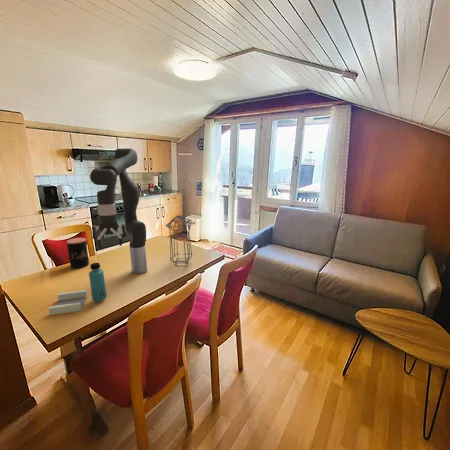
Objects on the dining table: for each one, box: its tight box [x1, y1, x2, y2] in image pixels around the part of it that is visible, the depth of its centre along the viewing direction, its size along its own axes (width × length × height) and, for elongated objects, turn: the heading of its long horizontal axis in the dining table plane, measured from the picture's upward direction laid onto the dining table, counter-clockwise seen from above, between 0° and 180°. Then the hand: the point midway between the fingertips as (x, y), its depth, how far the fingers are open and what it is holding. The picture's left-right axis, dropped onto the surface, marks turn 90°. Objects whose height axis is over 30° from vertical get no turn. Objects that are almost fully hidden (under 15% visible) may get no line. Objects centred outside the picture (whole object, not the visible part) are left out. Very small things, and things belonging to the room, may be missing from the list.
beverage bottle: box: [88, 262, 107, 302], centre depth 112 cm, size 6×7×20 cm
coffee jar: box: [66, 237, 90, 269], centre depth 151 cm, size 11×11×18 cm
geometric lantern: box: [165, 214, 193, 267], centre depth 156 cm, size 16×16×35 cm
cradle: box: [48, 289, 88, 316], centre depth 110 cm, size 12×13×4 cm
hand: (110, 246), depth 110 cm, fingers open, 8 cm apart
